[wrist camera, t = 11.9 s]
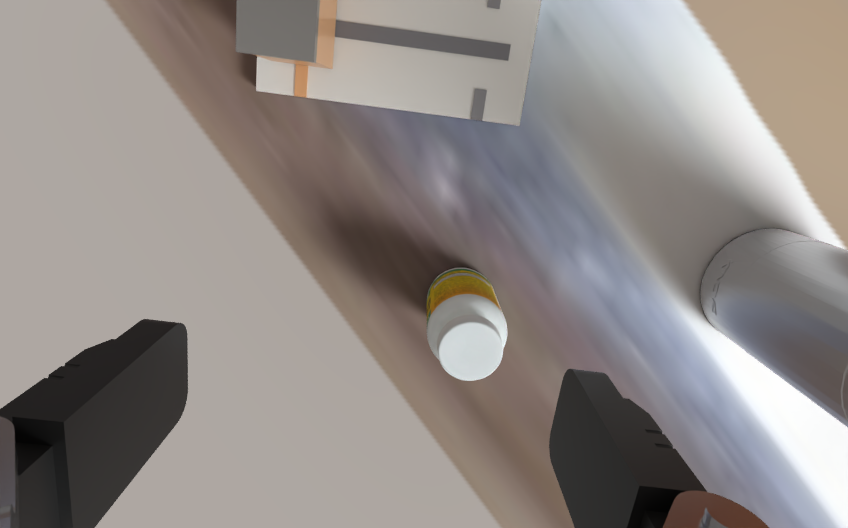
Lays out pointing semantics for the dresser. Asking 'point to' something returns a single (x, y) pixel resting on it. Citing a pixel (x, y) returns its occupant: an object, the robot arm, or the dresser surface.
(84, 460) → the robot arm
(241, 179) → the dresser surface
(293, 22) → the fader knob
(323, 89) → the fader plate
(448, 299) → the supplement bottle
